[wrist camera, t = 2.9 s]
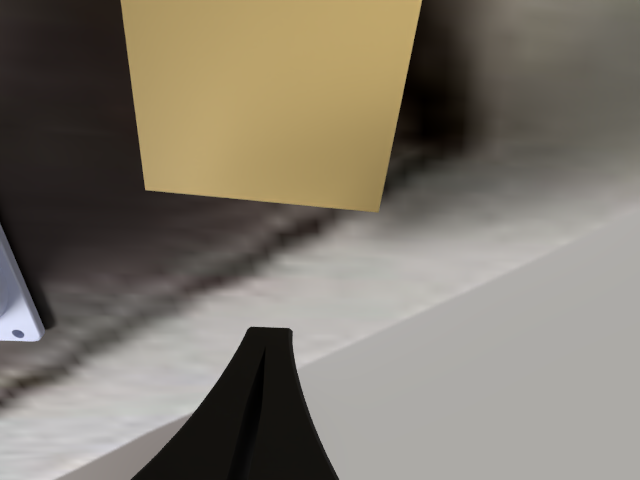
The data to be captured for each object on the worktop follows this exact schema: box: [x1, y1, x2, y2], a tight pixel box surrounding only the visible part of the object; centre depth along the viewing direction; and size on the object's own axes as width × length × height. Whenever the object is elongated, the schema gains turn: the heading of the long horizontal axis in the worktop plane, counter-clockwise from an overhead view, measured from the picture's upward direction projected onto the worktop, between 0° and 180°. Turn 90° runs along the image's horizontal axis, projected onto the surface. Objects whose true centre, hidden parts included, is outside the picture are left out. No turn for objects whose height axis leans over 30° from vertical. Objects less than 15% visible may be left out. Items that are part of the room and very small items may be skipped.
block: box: [121, 0, 422, 212], centre depth 12 cm, size 7×7×4 cm
